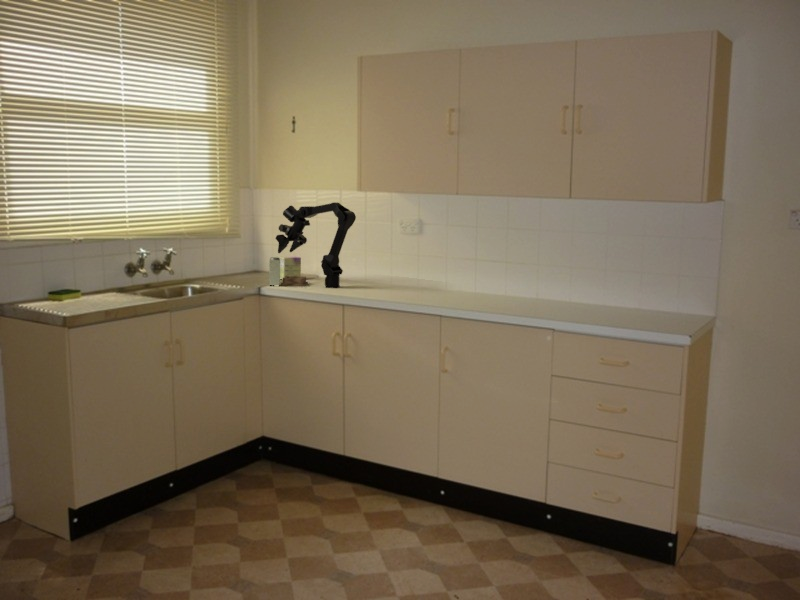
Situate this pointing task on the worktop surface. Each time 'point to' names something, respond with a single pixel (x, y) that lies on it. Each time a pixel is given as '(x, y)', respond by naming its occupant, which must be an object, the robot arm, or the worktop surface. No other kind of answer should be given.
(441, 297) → the worktop surface
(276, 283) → the tin
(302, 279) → the brown wooden frame
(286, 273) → the box
